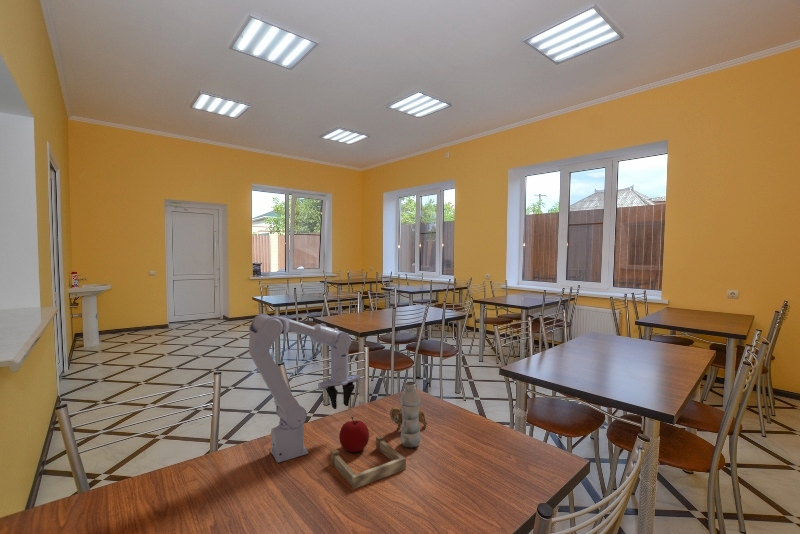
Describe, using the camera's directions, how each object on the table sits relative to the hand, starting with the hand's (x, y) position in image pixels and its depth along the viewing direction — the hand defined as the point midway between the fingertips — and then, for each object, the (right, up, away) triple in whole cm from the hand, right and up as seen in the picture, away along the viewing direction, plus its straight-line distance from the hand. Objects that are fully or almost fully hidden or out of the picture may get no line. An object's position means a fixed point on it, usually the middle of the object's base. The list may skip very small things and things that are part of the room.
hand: (340, 406), depth 127 cm
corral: (+11, -11, -18) cm, 24 cm away
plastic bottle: (+24, -10, -6) cm, 26 cm away
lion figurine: (+23, -10, +4) cm, 25 cm away
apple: (+6, -10, -8) cm, 15 cm away
